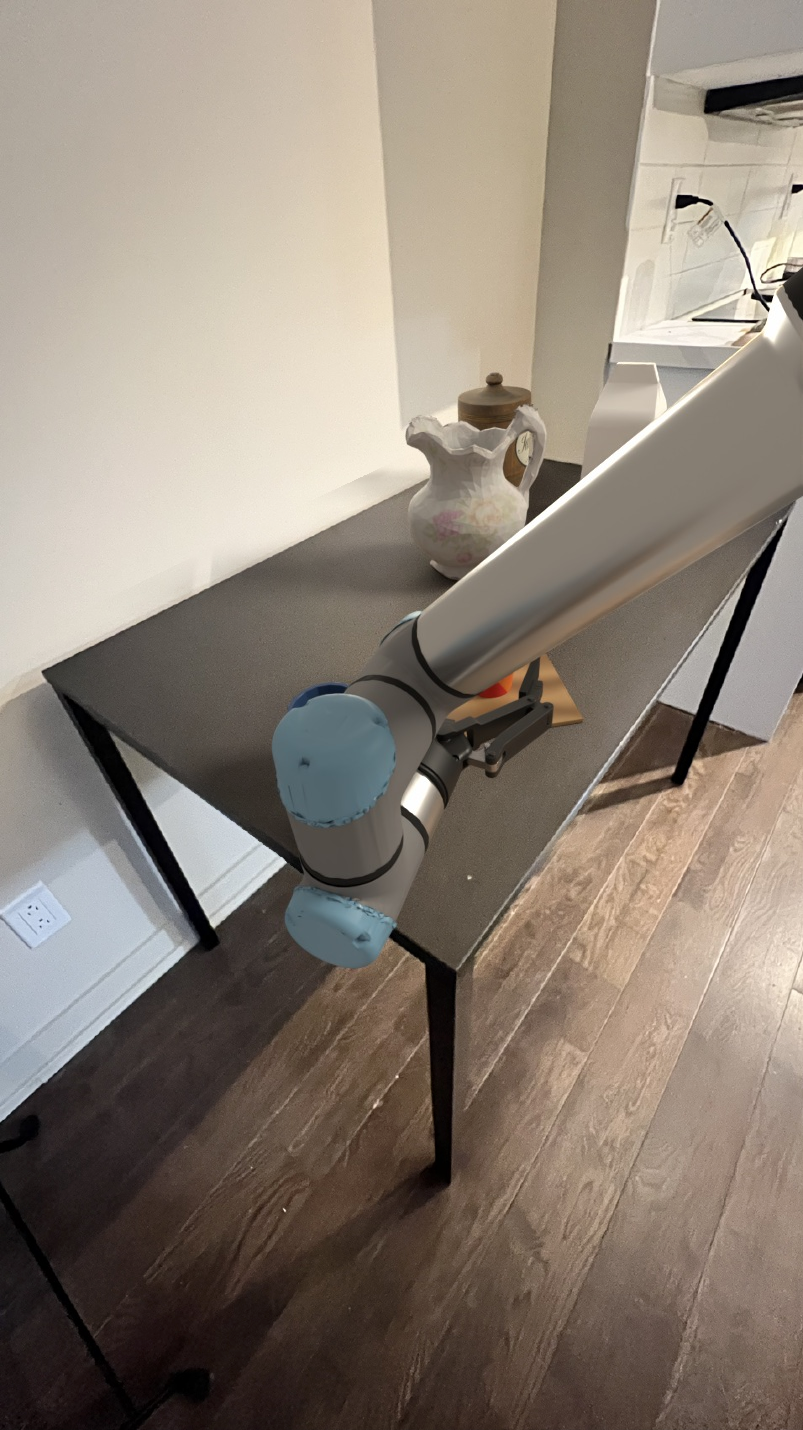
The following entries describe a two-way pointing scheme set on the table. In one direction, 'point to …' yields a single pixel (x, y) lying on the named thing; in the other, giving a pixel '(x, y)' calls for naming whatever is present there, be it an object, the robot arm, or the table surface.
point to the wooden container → (498, 419)
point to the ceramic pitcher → (470, 489)
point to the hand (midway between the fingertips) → (475, 656)
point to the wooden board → (552, 693)
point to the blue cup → (316, 693)
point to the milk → (622, 411)
